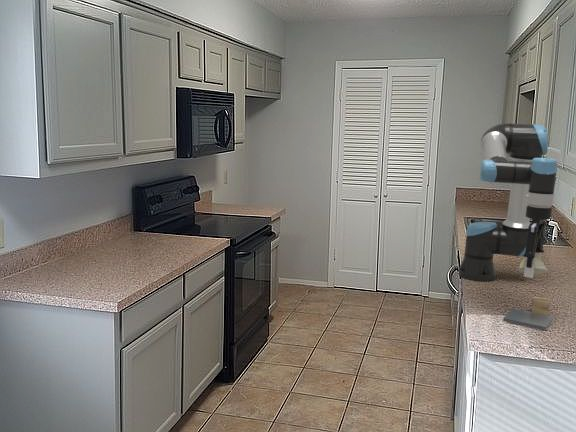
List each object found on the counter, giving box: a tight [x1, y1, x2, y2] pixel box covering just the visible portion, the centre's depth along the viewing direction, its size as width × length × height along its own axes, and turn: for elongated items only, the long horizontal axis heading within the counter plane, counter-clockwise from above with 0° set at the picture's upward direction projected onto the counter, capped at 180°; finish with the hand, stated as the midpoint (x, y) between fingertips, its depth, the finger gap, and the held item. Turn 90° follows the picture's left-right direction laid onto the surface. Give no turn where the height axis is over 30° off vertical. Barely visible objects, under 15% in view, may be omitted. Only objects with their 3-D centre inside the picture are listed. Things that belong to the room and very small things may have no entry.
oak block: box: [530, 296, 550, 315], centre depth 198 cm, size 5×5×5 cm
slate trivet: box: [502, 307, 554, 331], centre depth 190 cm, size 13×13×1 cm
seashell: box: [517, 253, 549, 276], centre depth 188 cm, size 8×8×8 cm
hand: (531, 274), depth 188 cm, fingers closed on seashell, 8 cm apart
